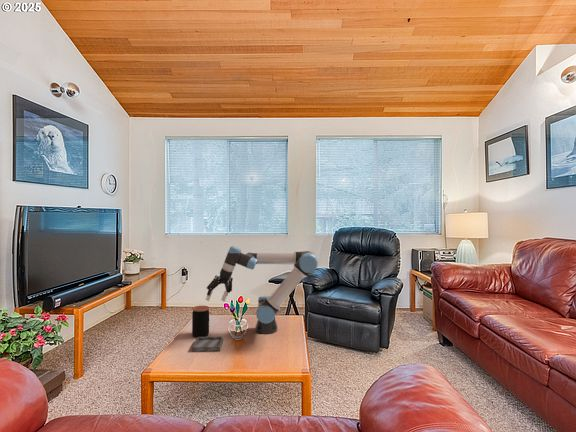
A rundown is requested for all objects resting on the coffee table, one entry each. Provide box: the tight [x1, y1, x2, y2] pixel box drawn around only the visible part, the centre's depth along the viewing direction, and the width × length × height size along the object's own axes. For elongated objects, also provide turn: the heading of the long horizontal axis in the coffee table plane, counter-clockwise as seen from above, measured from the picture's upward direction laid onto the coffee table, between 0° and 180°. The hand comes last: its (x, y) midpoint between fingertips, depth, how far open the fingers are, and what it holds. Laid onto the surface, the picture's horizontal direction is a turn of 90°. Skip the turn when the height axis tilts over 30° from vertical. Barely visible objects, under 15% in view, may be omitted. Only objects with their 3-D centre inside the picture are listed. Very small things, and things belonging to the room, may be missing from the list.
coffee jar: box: [191, 305, 210, 339], centre depth 219 cm, size 11×11×18 cm
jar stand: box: [191, 336, 224, 353], centre depth 202 cm, size 16×16×3 cm
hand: (215, 300), depth 216 cm, fingers open, 13 cm apart
